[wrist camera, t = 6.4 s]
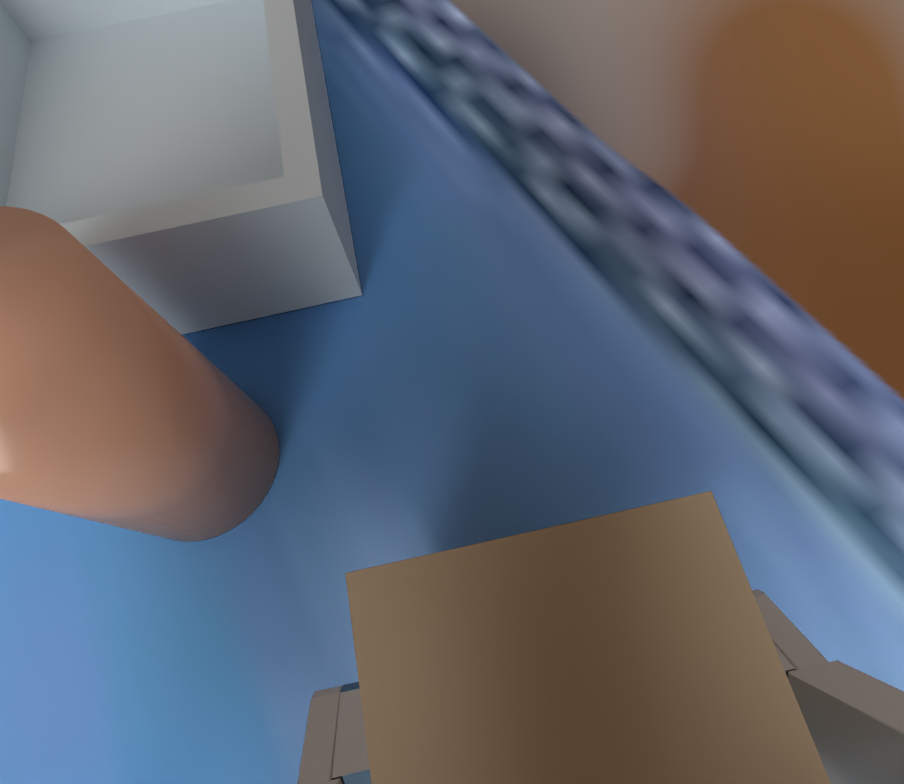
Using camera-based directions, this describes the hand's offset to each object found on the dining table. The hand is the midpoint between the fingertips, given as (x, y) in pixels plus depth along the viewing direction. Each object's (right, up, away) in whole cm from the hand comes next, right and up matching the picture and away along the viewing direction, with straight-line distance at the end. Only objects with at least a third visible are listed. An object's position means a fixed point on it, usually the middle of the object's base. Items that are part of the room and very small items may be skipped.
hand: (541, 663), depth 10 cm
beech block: (0, -2, +4) cm, 4 cm away
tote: (-14, +15, +13) cm, 24 cm away
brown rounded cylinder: (-10, +3, +8) cm, 13 cm away
